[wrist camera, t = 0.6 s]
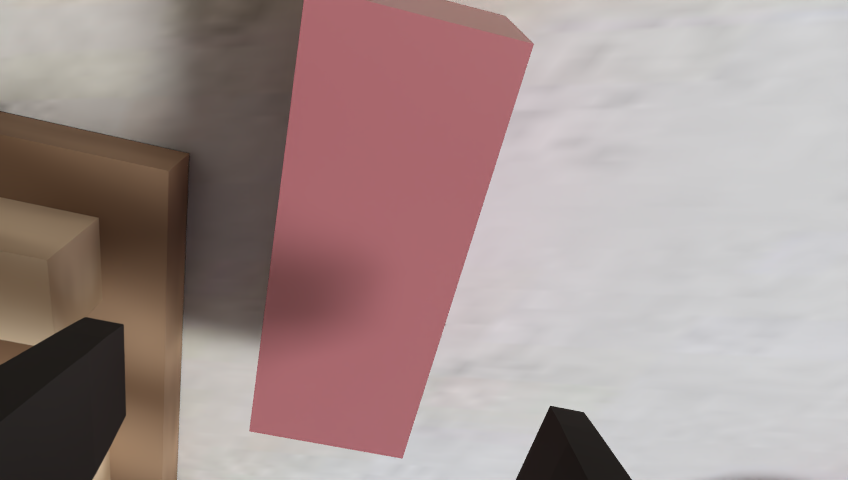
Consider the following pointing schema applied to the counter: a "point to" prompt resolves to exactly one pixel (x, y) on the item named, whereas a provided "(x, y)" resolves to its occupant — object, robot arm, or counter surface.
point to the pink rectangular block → (378, 210)
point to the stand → (99, 267)
